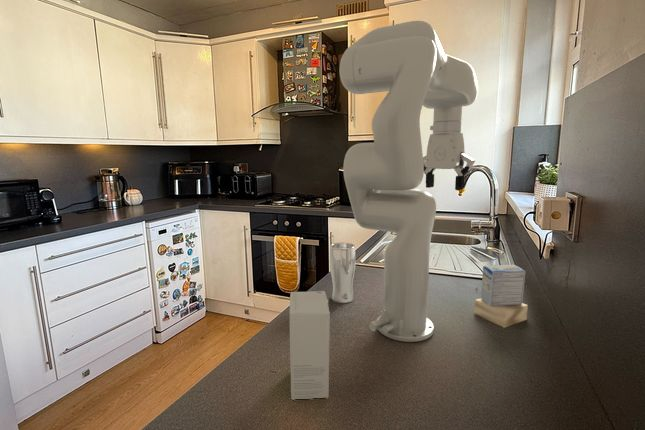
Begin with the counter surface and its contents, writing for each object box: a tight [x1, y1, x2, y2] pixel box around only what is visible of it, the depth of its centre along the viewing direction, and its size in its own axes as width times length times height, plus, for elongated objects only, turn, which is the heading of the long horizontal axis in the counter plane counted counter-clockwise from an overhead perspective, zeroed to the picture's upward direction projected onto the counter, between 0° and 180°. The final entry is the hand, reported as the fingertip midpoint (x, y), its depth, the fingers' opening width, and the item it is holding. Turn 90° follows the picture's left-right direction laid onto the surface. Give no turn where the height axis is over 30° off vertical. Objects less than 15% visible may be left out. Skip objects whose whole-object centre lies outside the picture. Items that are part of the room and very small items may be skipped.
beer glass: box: [329, 241, 357, 304], centre depth 94 cm, size 7×7×15 cm
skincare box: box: [289, 290, 331, 400], centre depth 59 cm, size 8×7×16 cm
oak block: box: [474, 297, 529, 329], centre depth 84 cm, size 8×8×4 cm
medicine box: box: [480, 264, 526, 306], centre depth 82 cm, size 8×4×9 cm, turn 94°
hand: (443, 188), depth 103 cm, fingers open, 9 cm apart
